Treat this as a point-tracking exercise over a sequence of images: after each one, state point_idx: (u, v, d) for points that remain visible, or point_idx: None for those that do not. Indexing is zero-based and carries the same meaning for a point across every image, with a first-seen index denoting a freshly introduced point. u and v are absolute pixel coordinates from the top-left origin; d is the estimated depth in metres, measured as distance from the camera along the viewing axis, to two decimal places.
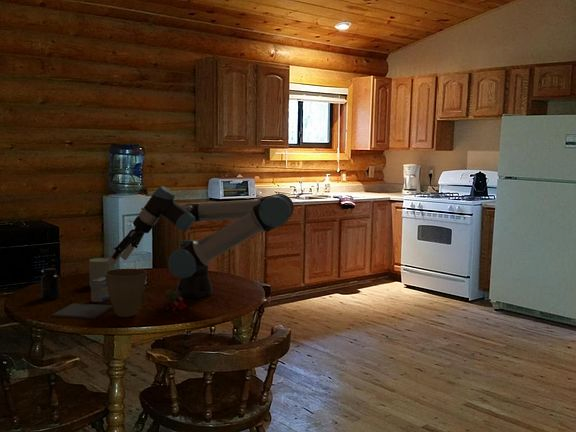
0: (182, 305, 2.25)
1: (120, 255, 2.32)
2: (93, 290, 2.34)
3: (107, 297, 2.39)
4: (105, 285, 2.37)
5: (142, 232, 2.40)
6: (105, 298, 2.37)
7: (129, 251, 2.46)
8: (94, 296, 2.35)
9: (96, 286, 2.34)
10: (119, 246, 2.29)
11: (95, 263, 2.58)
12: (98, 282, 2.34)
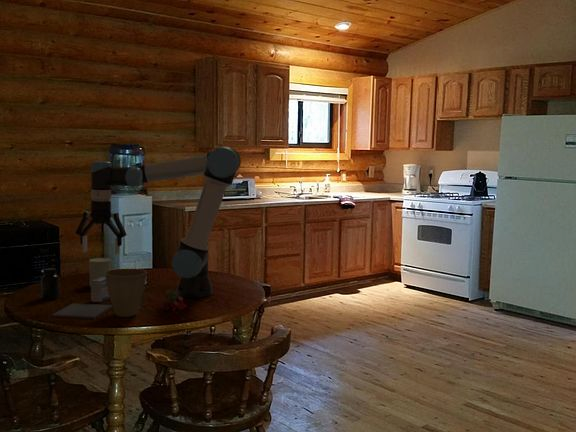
0: (182, 305, 2.25)
1: None
2: (93, 290, 2.34)
3: (107, 297, 2.39)
4: (105, 285, 2.37)
5: None
6: (105, 298, 2.37)
7: (86, 241, 2.37)
8: (94, 296, 2.35)
9: (96, 286, 2.34)
10: (123, 231, 2.34)
11: (95, 263, 2.58)
12: (98, 282, 2.34)
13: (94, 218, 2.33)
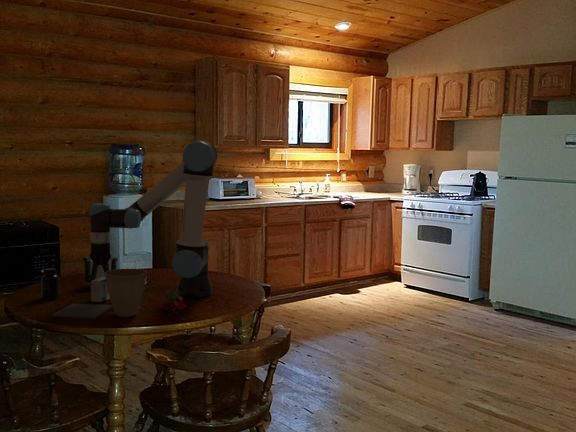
0: (182, 305, 2.25)
1: None
2: (93, 290, 2.34)
3: None
4: None
5: None
6: None
7: None
8: (93, 296, 2.35)
9: (96, 286, 2.34)
10: None
11: None
12: (98, 282, 2.34)
13: (94, 261, 2.35)
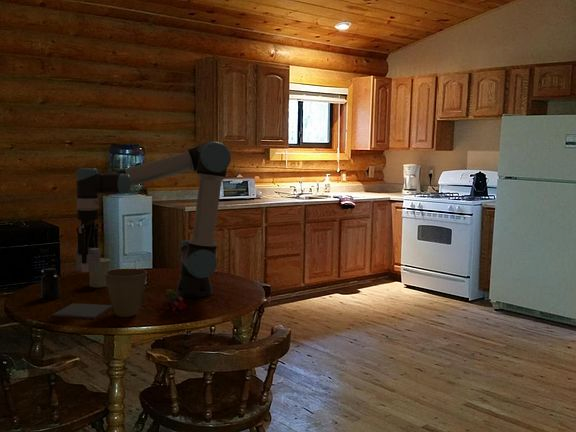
0: (182, 305, 2.25)
1: None
2: (96, 259, 2.22)
3: None
4: None
5: None
6: None
7: None
8: (96, 266, 2.22)
9: (98, 254, 2.23)
10: None
11: None
12: (99, 250, 2.24)
13: (90, 229, 2.21)
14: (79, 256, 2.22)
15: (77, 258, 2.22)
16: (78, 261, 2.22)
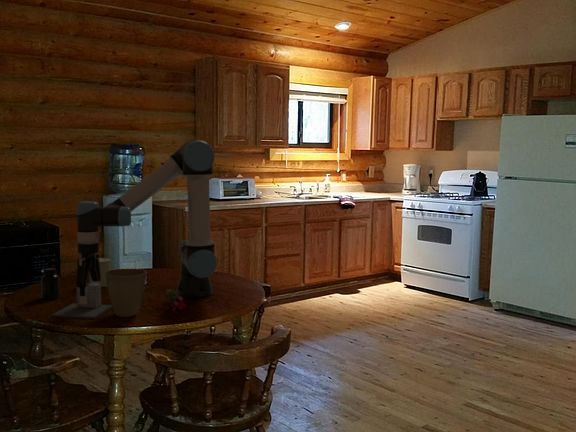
0: (182, 305, 2.25)
1: None
2: (97, 295, 2.23)
3: None
4: None
5: None
6: None
7: None
8: (97, 302, 2.24)
9: (98, 290, 2.24)
10: None
11: None
12: (99, 285, 2.25)
13: (91, 262, 2.22)
14: None
15: (78, 294, 2.23)
16: (79, 297, 2.23)
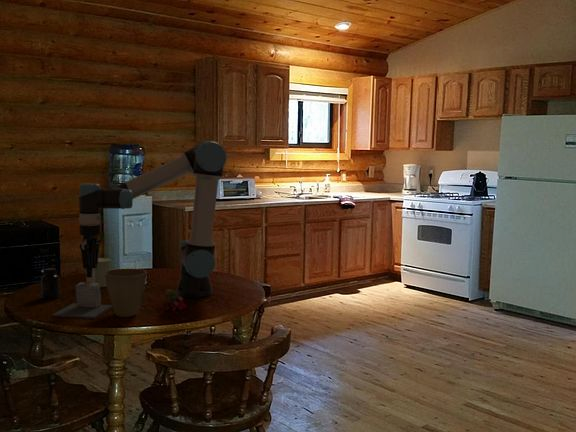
0: (182, 305, 2.25)
1: None
2: (96, 295, 2.23)
3: None
4: None
5: None
6: None
7: None
8: (97, 302, 2.23)
9: (98, 290, 2.24)
10: None
11: None
12: (98, 285, 2.24)
13: (93, 244, 2.23)
14: (79, 292, 2.22)
15: (77, 294, 2.23)
16: (78, 297, 2.23)
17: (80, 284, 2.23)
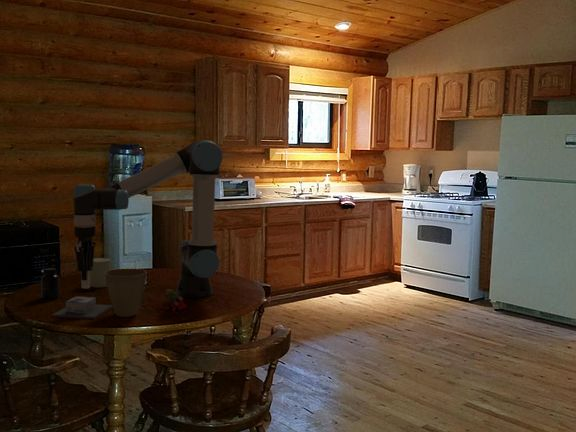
0: (182, 305, 2.25)
1: None
2: (90, 308, 2.18)
3: None
4: (79, 300, 2.17)
5: None
6: (86, 297, 2.22)
7: None
8: (93, 306, 2.20)
9: (88, 306, 2.16)
10: None
11: (95, 263, 2.58)
12: (86, 305, 2.14)
13: (88, 246, 2.19)
14: None
15: None
16: None
17: (68, 309, 2.15)
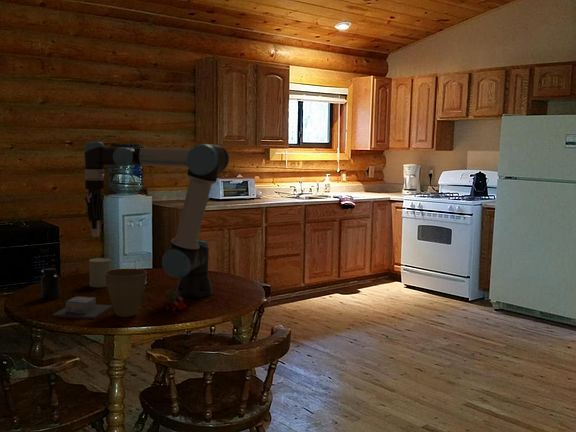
0: (182, 305, 2.25)
1: None
2: (90, 308, 2.18)
3: None
4: (79, 300, 2.17)
5: None
6: (86, 297, 2.22)
7: None
8: (93, 306, 2.20)
9: (88, 306, 2.16)
10: None
11: (95, 263, 2.58)
12: (86, 305, 2.14)
13: (97, 197, 2.42)
14: None
15: None
16: None
17: (68, 309, 2.15)
